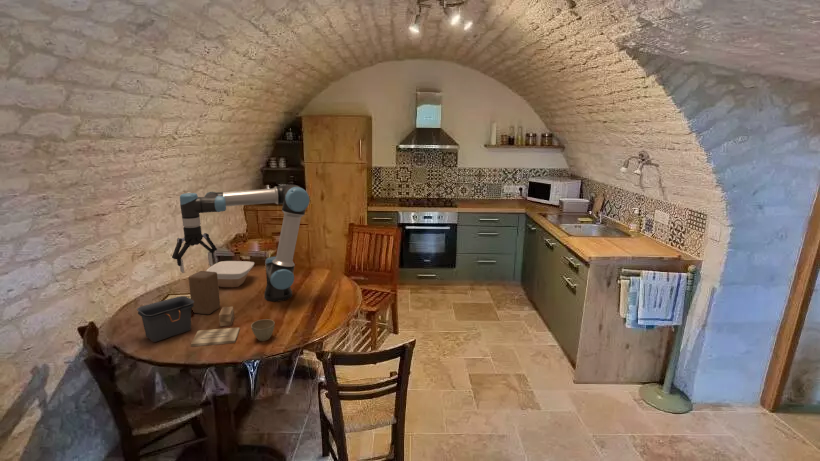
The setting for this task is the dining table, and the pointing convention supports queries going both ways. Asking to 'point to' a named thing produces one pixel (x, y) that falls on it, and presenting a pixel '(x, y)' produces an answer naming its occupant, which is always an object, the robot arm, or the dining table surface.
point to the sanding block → (226, 316)
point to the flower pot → (263, 329)
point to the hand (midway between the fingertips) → (197, 268)
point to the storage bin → (166, 317)
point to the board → (215, 336)
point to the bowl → (231, 272)
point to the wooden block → (204, 292)
